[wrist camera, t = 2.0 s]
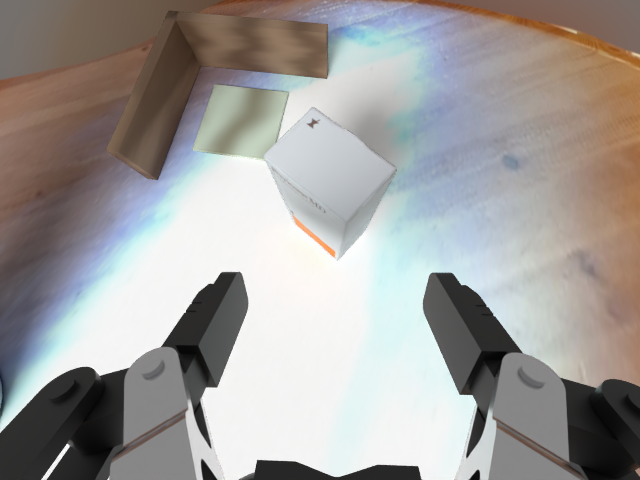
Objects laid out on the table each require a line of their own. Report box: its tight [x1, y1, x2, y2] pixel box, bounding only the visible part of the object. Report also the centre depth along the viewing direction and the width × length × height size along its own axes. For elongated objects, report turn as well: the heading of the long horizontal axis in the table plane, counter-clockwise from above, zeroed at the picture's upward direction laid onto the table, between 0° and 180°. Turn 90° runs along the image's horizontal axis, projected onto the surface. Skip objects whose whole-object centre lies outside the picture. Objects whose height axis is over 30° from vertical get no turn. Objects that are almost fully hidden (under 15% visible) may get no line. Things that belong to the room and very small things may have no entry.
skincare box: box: [264, 107, 396, 261], centre depth 18 cm, size 6×4×12 cm
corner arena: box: [106, 11, 328, 180], centre depth 25 cm, size 17×17×5 cm
